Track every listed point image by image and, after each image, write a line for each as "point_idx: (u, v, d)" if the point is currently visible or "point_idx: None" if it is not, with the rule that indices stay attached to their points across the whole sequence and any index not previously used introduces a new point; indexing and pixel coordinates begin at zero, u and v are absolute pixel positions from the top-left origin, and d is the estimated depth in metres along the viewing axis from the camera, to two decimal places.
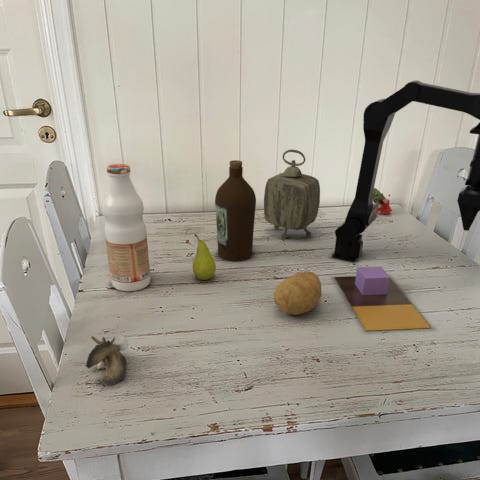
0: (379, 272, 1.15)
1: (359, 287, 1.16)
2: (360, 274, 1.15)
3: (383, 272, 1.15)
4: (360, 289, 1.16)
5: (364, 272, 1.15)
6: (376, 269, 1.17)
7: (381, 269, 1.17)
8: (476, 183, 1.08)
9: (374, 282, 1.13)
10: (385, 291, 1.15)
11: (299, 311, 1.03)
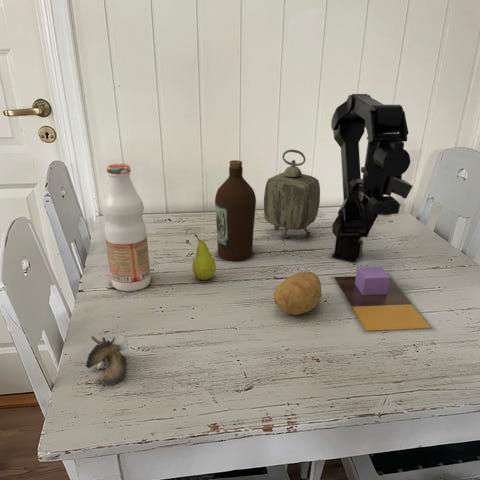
0: (379, 272, 1.15)
1: (359, 287, 1.16)
2: (360, 274, 1.15)
3: (383, 272, 1.15)
4: (360, 289, 1.16)
5: (364, 272, 1.15)
6: (376, 269, 1.17)
7: (381, 269, 1.17)
8: (375, 192, 1.10)
9: (374, 282, 1.13)
10: (385, 291, 1.15)
11: (299, 311, 1.03)
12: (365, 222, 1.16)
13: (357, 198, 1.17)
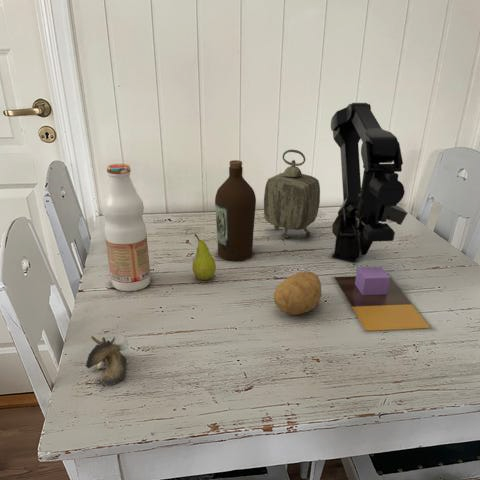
0: (379, 272, 1.15)
1: (359, 287, 1.16)
2: (360, 274, 1.15)
3: (383, 272, 1.15)
4: (360, 289, 1.16)
5: (364, 272, 1.15)
6: (376, 269, 1.17)
7: (381, 269, 1.17)
8: (371, 218, 1.14)
9: (374, 282, 1.13)
10: (385, 291, 1.15)
11: (299, 311, 1.03)
12: (361, 247, 1.19)
13: (353, 223, 1.20)
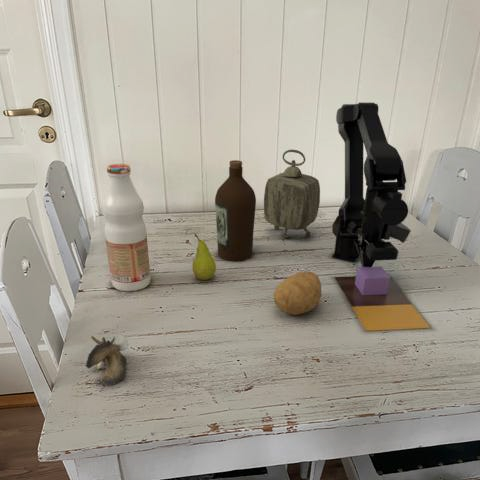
0: (379, 272, 1.15)
1: (359, 287, 1.16)
2: (360, 274, 1.15)
3: (383, 272, 1.15)
4: (360, 289, 1.16)
5: (364, 272, 1.15)
6: (376, 269, 1.17)
7: (381, 269, 1.17)
8: (374, 236, 1.12)
9: (374, 282, 1.13)
10: (385, 291, 1.15)
11: (299, 311, 1.03)
12: (364, 264, 1.18)
13: (356, 240, 1.19)
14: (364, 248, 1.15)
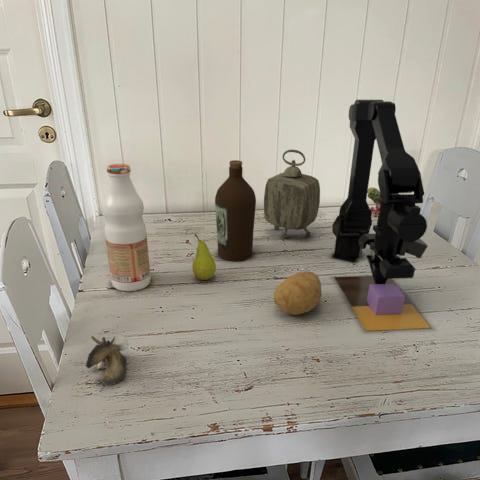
0: (393, 290, 1.07)
1: (371, 306, 1.09)
2: (373, 292, 1.08)
3: (397, 290, 1.07)
4: (373, 308, 1.08)
5: (377, 290, 1.07)
6: (389, 286, 1.09)
7: (395, 286, 1.09)
8: (388, 252, 1.04)
9: (388, 300, 1.05)
10: (400, 310, 1.07)
11: (299, 311, 1.03)
12: (377, 281, 1.10)
13: (368, 255, 1.11)
14: (377, 264, 1.07)
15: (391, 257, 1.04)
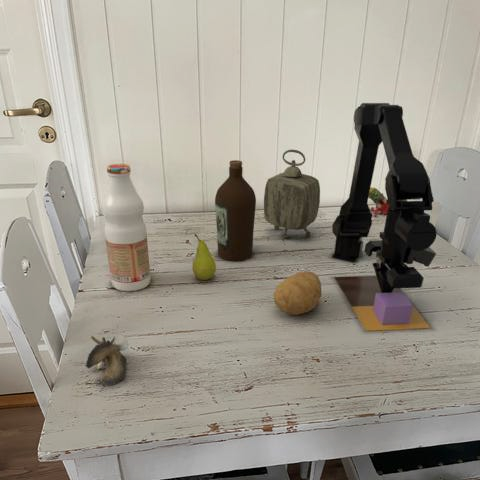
0: (400, 299, 1.04)
1: (378, 315, 1.05)
2: (379, 301, 1.04)
3: (405, 299, 1.04)
4: (379, 318, 1.05)
5: (383, 299, 1.04)
6: (396, 295, 1.05)
7: (402, 295, 1.05)
8: (395, 260, 1.01)
9: (396, 310, 1.02)
10: (407, 320, 1.03)
11: (299, 311, 1.03)
12: (383, 290, 1.06)
13: (374, 263, 1.07)
14: (384, 273, 1.03)
15: (398, 265, 1.01)
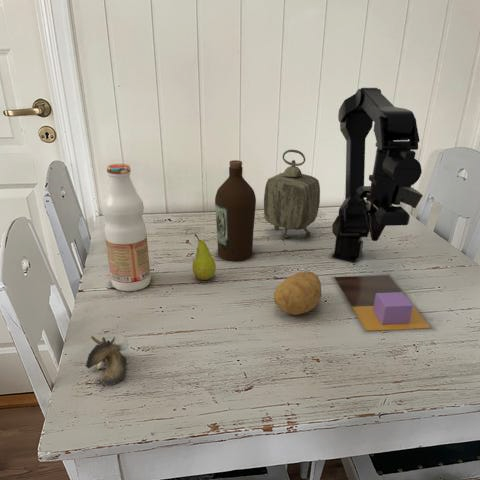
0: (400, 299, 1.04)
1: (378, 315, 1.05)
2: (379, 301, 1.04)
3: (405, 299, 1.04)
4: (379, 318, 1.05)
5: (383, 299, 1.04)
6: (396, 295, 1.05)
7: (402, 295, 1.05)
8: (384, 201, 1.06)
9: (396, 310, 1.02)
10: (407, 320, 1.03)
11: (299, 311, 1.03)
12: (372, 232, 1.11)
13: (364, 207, 1.12)
14: (373, 214, 1.08)
15: (386, 206, 1.05)
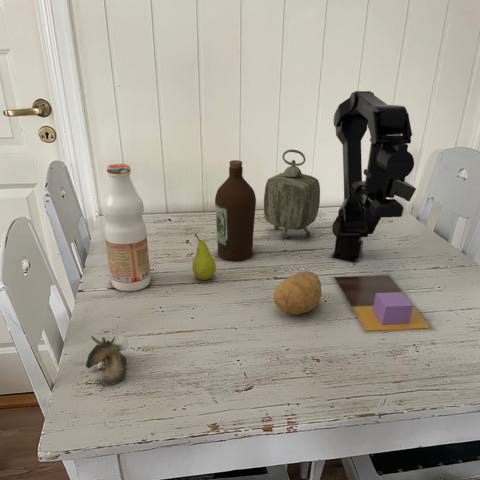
0: (400, 299, 1.04)
1: (378, 315, 1.05)
2: (379, 301, 1.04)
3: (405, 299, 1.04)
4: (379, 318, 1.05)
5: (383, 299, 1.04)
6: (396, 295, 1.05)
7: (402, 295, 1.05)
8: (378, 194, 1.09)
9: (396, 310, 1.02)
10: (407, 320, 1.03)
11: (299, 311, 1.03)
12: (368, 225, 1.14)
13: (359, 201, 1.15)
14: (368, 207, 1.11)
15: (381, 199, 1.08)
